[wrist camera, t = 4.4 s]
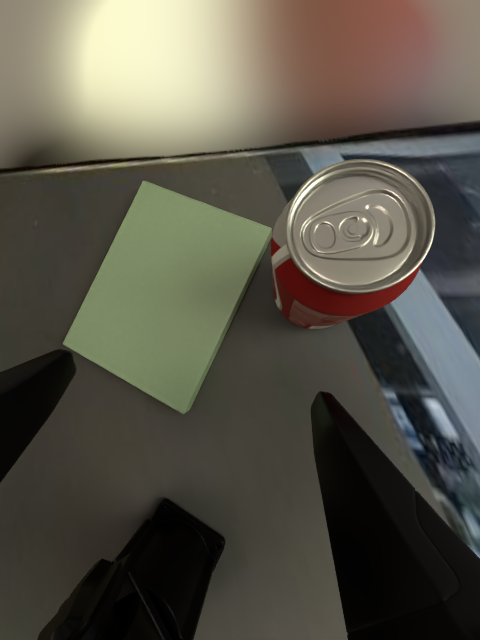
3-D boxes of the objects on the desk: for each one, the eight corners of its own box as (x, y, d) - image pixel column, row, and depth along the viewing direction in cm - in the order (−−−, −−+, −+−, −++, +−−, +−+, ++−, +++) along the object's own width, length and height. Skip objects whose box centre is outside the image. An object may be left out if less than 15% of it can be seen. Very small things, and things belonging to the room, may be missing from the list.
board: (272, 235, 22) (272, 228, 21) (189, 410, 22) (183, 414, 20) (151, 190, 25) (143, 180, 23) (75, 344, 24) (62, 344, 23)
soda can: (359, 323, 20) (477, 291, 8) (280, 335, 21) (284, 323, 9) (343, 248, 21) (429, 123, 9) (268, 263, 22) (257, 168, 10)
